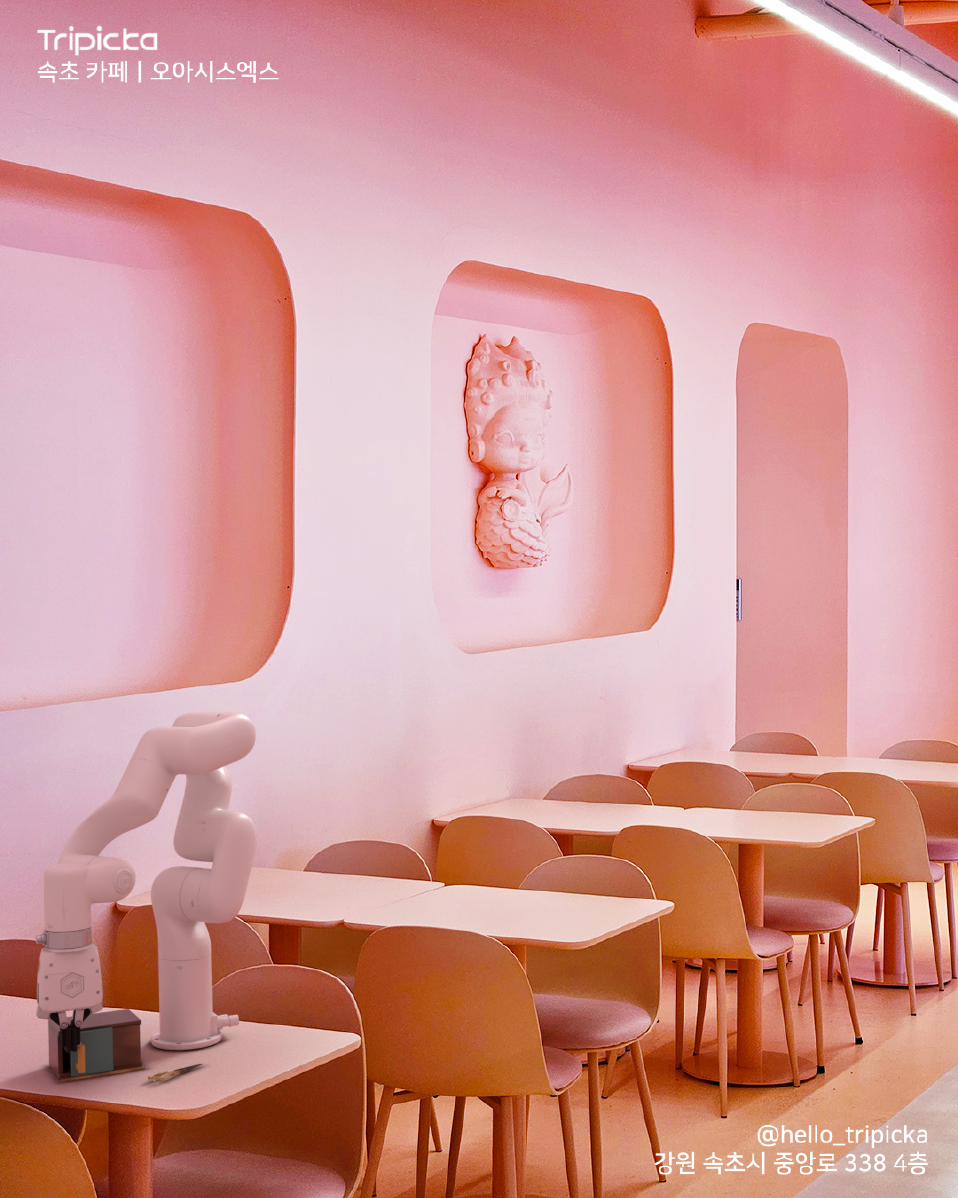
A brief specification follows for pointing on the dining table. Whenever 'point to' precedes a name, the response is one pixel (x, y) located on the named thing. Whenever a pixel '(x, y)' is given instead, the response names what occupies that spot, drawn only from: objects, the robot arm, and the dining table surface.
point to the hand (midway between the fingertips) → (70, 1050)
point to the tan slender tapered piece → (171, 1073)
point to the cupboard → (123, 1043)
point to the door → (93, 1052)
